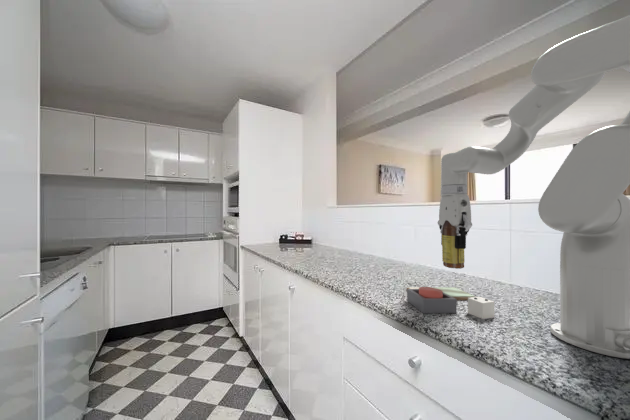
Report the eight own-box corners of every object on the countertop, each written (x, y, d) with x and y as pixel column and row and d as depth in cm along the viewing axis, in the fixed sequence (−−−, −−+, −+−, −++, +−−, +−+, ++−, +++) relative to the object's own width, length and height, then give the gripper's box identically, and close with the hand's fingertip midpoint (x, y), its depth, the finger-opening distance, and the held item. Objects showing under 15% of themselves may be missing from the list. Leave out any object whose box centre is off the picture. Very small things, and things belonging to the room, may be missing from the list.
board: (477, 299, 74) (477, 296, 74) (421, 300, 73) (421, 296, 73) (455, 289, 84) (455, 287, 84) (406, 290, 82) (406, 287, 83)
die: (494, 317, 61) (494, 300, 61) (482, 319, 60) (482, 301, 60) (479, 311, 65) (479, 295, 65) (467, 313, 64) (467, 296, 64)
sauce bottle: (458, 265, 82) (459, 206, 82) (468, 269, 76) (469, 205, 76) (438, 264, 82) (439, 205, 83) (446, 268, 76) (447, 205, 76)
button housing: (456, 312, 63) (456, 299, 64) (423, 313, 63) (423, 299, 63) (436, 300, 72) (436, 288, 72) (407, 301, 72) (407, 289, 72)
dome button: (447, 304, 65) (447, 293, 65) (425, 305, 64) (425, 293, 64) (434, 297, 71) (434, 286, 71) (414, 297, 70) (414, 286, 70)
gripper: (485, 189, 71) (484, 251, 71) (448, 194, 88) (447, 244, 88) (460, 188, 71) (460, 251, 70) (428, 193, 88) (427, 243, 87)
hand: (452, 246), depth 79 cm, fingers closed on sauce bottle, 6 cm apart
